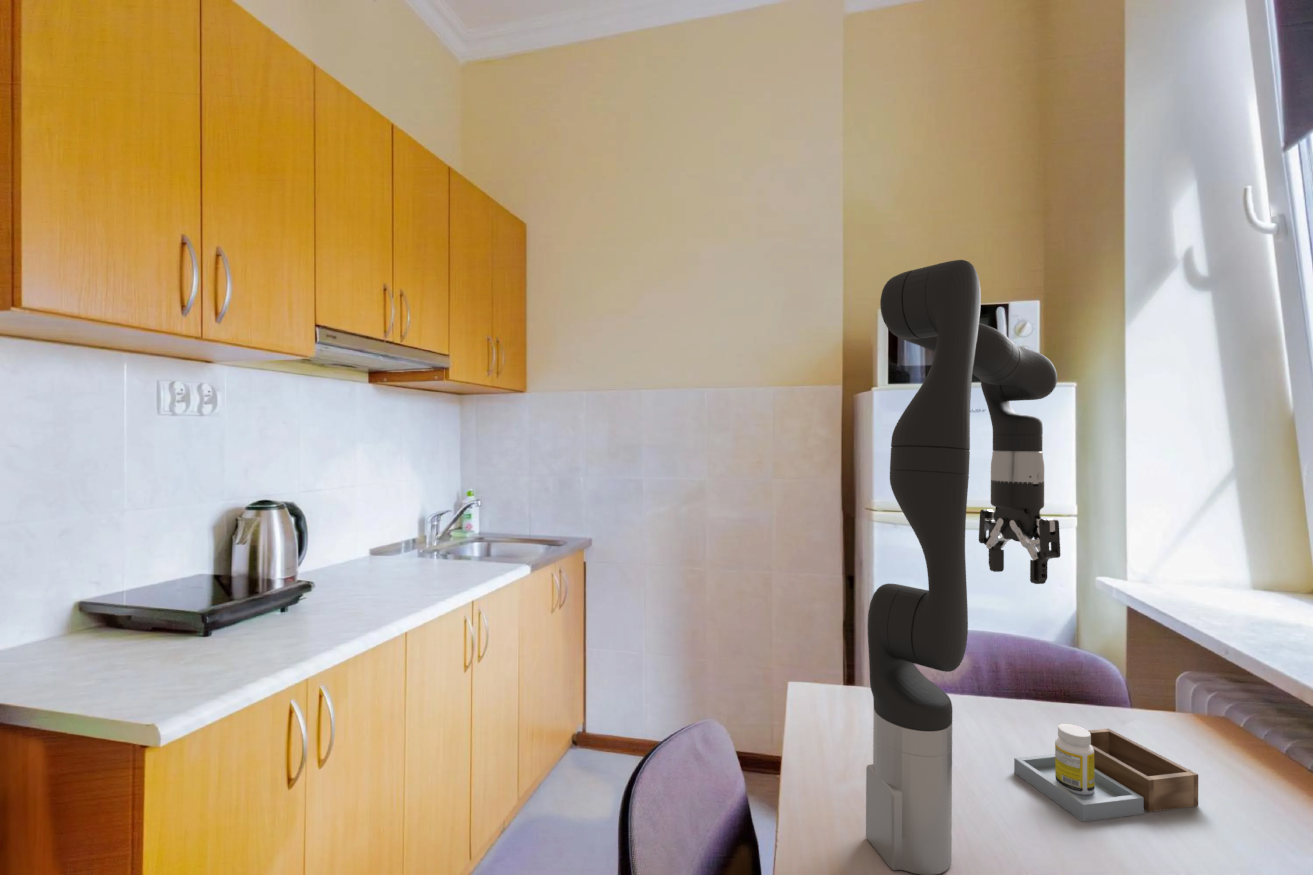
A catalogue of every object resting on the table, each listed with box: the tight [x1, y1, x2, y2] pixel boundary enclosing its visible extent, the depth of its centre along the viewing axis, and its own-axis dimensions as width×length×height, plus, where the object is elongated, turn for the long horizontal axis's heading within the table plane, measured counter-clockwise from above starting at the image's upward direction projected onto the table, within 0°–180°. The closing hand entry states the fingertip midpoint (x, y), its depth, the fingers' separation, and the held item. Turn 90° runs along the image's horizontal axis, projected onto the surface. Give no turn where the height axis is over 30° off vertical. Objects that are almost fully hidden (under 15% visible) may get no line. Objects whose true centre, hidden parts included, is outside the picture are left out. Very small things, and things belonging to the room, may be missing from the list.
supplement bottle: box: [1054, 723, 1095, 795], centre depth 86 cm, size 5×5×8 cm
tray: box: [1013, 753, 1144, 823], centre depth 86 cm, size 10×12×2 cm
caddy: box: [1087, 728, 1199, 813], centre depth 89 cm, size 9×14×4 cm, turn 11°
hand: (1016, 577), depth 95 cm, fingers open, 8 cm apart
